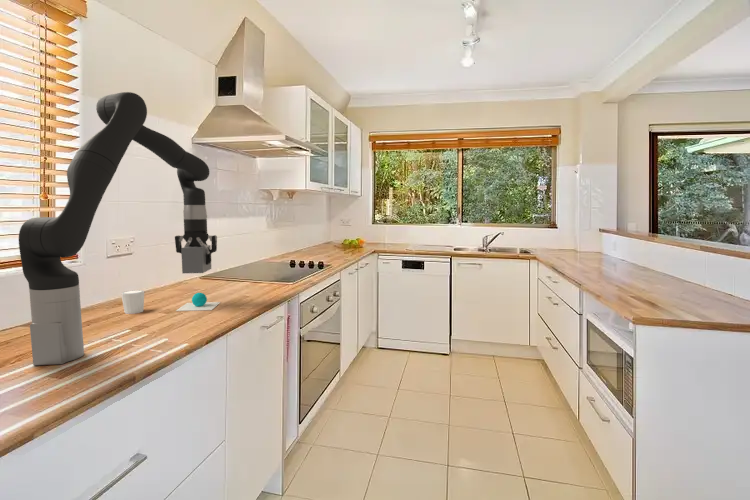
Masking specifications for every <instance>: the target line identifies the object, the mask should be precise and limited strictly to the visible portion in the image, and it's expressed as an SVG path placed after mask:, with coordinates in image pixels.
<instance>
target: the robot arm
mask: <svg viewBox="0 0 750 500" xmlns="http://www.w3.org/2000/svg"><path fill="white" fill-rule="evenodd" d="M95 108H96V113H97V116H98V117H99V119H100V120H101V121H102V123H104V124H105V126H104V127H103V128H101V130H99V131H98V132H96V133H95V134H93V136H91V137H90V138H88V140H86V141H85V142H84V143H83V144H82V145H81V146H80V147H79V148H78V150H77V151H76V153H75V154H74V155H73V158H72V160H71V161H70V163H69V165H68V167H67V170H66V177H67V183H68V189H69V198H68V200H67V202H66V205H65V206H64V208H63V210H62V211H61V213H60V214H59V215H58V216H55V217H54V216H53V217H51V216H50V217H48V216H47V217H46V216H45V217H43V216H41V217H39V216H37V217H32V218H29V219H27V220H26V221H24V222H23V223H22V225H21V227H20V228H19V232H18V248H19V255H20V260H21V268H22V273H23V276H24V279H26V281H27V282H28V283H27V284H28V292H29V302H30V303H29V304H30V316H31V323H30V324H29V333H30V341H31V342H30V343H31V354H32V365H33V366H46V365H63V364H65V363H68V362H71V361H74V360H77V359H80V358H81V357H83V356H84V355H85V349H84V348H85V347H84V345H85V344H84V335H83V334H84V333H83V320H82V305H81V294H80V279H79V274H78V272H76V271H74V270H72V269H70V268H68V267H67V266H65V264H64V263H63V262H62V260H61V258H70V257H73V256H75V255H77V254H78V253H79V252H80V251H81V249H82V248H83V246H84V244H85V242H86V240H87V238H88V235H89V232H90V228H91V226H92V223H93V220H94V217H95V215H96V212H97V211H98V208H99V205H100V204H101V201H102V199H103V197H104V194H105V192H106V191H107V188H108V187H109V185H110V183H111V181H112V180H113V178H114V175H115V173H116V172H117V170H118V167H119V165H120V163H121V161H122V159H123V157H124V156H125V154H126V152H127V150H128V147H129V146H130V144H131V143H132V141H134V142H135V143H138V144H139V145H140V146H142V147H143V148H146V149H147V150H149V151H151V153H153V154H155V155H156V156H157V157H159V158H160V159H161V160H163V162H165V163H166V164H167V165H169V166H170V167H172V168H174V169H176V174H177V178H178V182H179V186H180V188H181V191H182V194H183V196H182V197H183V209H182V210H183V212H182V213H183V227H184V228H183V232H184V233H183V235H175V236H174V243H175V252H176V253H179V254H181V248H183V246H182V245H183V244H182V242H183V240H184V241H185V244H184V247H189V246H191V247H194V246H197V247H205V249H206V265H209V264H210V263H211V264H212V254H213V253H216V252H218V251H217V249H218V247H217V246H218V244H217V243H218V236H217V235H216V234H215V235H209V233H208V215H207V214H208V213H207V207H206V192H205V190H204V189H203V188H200V187H198V186H196V184H195V182H203V181H206V180H207V179H208V178H209V177H210V168H209V166H208V165H207V162H205V161H204V160H202V158H200V157H198V156H196V155H194V154H192V153H190V152H189V151H186V150H185V149H184V148H183V147H182V146H181V145H180V144H178V142H176V141H175V140H174V139H172V138H171V137H169V136H168V135H165V134H163V133H161V132H158V131H156V130H154V129H151V128H149V127H147V126H145V125H144V124H145V122H146V120H147V116H148V108H147V104H146V102H145V100H144V99H143V97H141V96H140V95H139V94H137V93H135V92H131V91H125V92H122V91H121V92H117V93H114V94H113V93H112V94H109V95H104V96H102V97H100V98H99V99H98V100H97V101H96V104H95ZM208 240H209V241H210V242H211V244H210V245H211V250H210V248H209V246H208V245H209V244H208V243H207V241H208Z"/></svg>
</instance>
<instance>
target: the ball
mask: <svg viewBox="0 0 750 500" xmlns="http://www.w3.org/2000/svg"><path fill="white" fill-rule="evenodd" d="M191 301H192V302H191V303H193V304H194V305H195V306H203V305H204V304H205V303H206V302H208V297H207V295H206V294H205V293H204V292H197V293H194V294H193V295H192V297H191Z"/></svg>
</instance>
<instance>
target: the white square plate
mask: <svg viewBox="0 0 750 500" xmlns="http://www.w3.org/2000/svg"><path fill="white" fill-rule="evenodd" d="M220 303H221V301H212V302H211V301H206V303H205V304H204V305H203V306H195V305H194V304H193V303H192V302H186V303H185V304H183V305H182V306H180V307H179V308H178V309H176V310H175V312H193V311H194V312H195V311H198V312H199V311H200V312H202V311H213V310H214V309H215V308H216V307H217V306H218V305H219V304H220Z"/></svg>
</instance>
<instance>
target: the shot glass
mask: <svg viewBox="0 0 750 500" xmlns="http://www.w3.org/2000/svg"><path fill="white" fill-rule="evenodd" d="M121 300H122V307H123V311H124V314H126V315H132V314H133V315H134V314H139V313H143V312H144V308H145V290H143V289H141V290H140V289H137V290H135V289H134V290H126V291H122V292H121Z"/></svg>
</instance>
